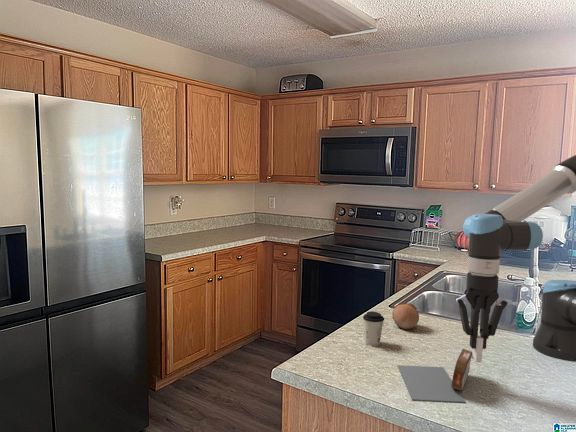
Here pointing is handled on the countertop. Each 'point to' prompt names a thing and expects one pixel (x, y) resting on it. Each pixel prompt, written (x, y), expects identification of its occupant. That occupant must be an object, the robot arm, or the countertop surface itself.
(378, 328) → the coffee cup
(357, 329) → the countertop surface
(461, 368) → the tin
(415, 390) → the mat
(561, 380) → the countertop surface
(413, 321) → the onion
